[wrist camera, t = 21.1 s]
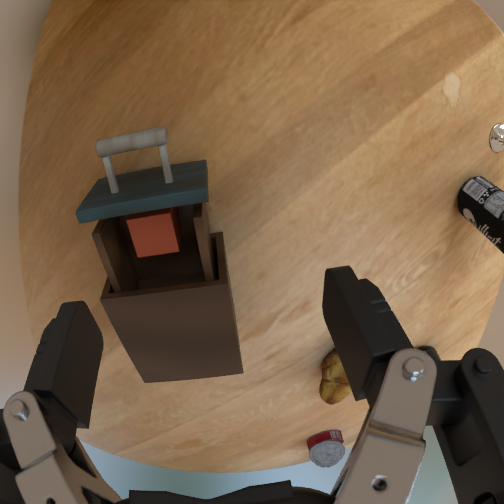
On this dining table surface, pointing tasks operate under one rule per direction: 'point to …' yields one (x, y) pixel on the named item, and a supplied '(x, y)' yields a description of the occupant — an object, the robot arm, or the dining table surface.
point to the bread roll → (333, 380)
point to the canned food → (326, 448)
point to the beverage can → (484, 208)
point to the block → (155, 231)
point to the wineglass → (497, 138)
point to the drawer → (147, 199)
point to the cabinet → (179, 326)
